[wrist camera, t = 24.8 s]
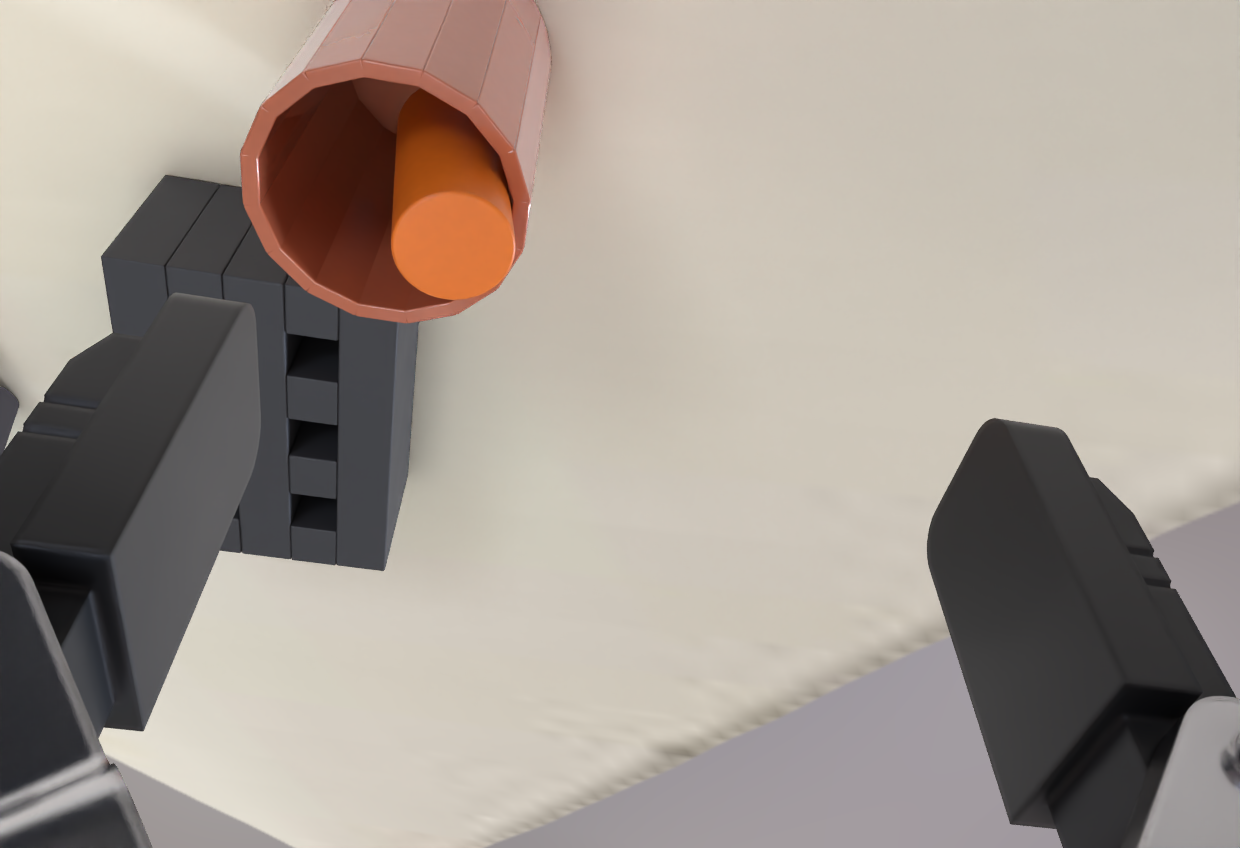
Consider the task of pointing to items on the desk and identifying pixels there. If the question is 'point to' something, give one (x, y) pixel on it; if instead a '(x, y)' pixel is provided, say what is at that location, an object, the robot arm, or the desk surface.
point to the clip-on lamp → (6, 415)
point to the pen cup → (386, 137)
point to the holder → (283, 378)
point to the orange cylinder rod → (448, 203)
